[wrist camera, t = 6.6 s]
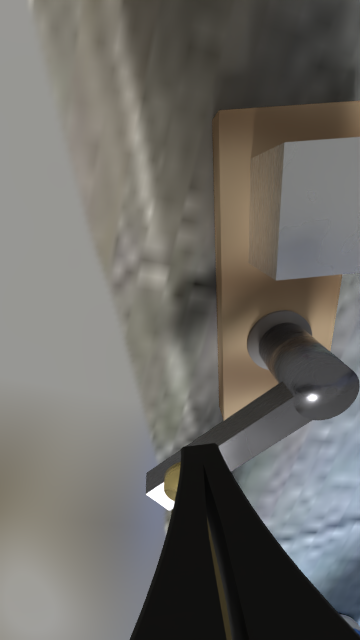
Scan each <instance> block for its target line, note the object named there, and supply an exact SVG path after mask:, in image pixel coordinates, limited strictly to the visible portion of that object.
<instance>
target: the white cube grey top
mask: <svg viewBox="0 0 360 640" xmlns="http://www.w3.org/2000/svg"><path fill="white" fill-rule="evenodd" d="M248 263H249V264H251V265H252V266H254V267H255V268H257V269H259V270H260V271H262V272H263V273H265V274H266V275H268V276H270V277H271V278H273V279H274V280H276V281H277V280H287V279H298V278H308V277H319V276H329V275H340V274H350V273H360V137H351V138H337V139H323V140H310V141H296V142H284V143H282V144H280V145H278V146H276V147H274V148H272V149H270V150H268V151H266V152H264V153H262V154H259V155H257V156H255V157H253V158H251V169H250V215H249V262H248Z"/></svg>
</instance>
